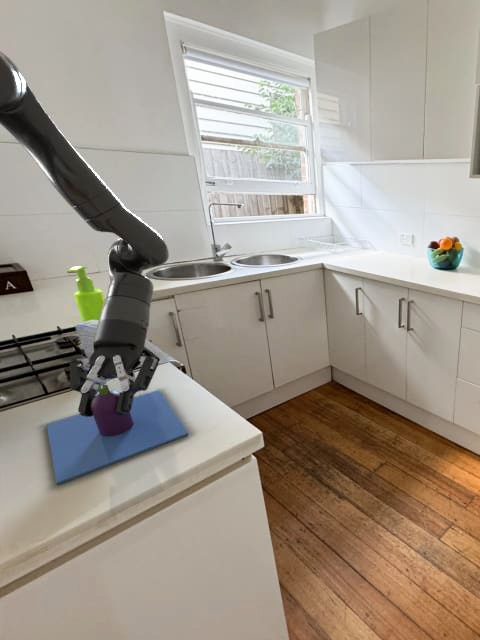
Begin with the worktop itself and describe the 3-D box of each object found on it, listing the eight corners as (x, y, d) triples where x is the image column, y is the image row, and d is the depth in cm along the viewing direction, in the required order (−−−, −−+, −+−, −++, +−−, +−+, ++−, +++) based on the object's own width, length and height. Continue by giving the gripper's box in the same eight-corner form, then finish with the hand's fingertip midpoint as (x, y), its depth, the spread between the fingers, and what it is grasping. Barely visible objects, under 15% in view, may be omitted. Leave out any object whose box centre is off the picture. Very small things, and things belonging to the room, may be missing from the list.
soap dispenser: (82, 343, 103) (56, 270, 95) (96, 333, 109) (73, 264, 101) (106, 342, 104) (83, 269, 96) (119, 332, 110) (98, 263, 102)
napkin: (47, 425, 70) (46, 423, 70) (159, 391, 82) (158, 390, 82) (57, 485, 57) (56, 483, 57) (188, 434, 69) (188, 432, 69)
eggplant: (93, 437, 67) (76, 395, 63) (110, 420, 71) (95, 380, 68) (124, 435, 67) (109, 393, 64) (139, 419, 72) (126, 379, 68)
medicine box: (127, 353, 98) (117, 322, 94) (111, 361, 94) (100, 328, 90) (102, 349, 100) (92, 318, 96) (85, 357, 96) (74, 324, 92)
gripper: (67, 318, 68) (40, 413, 62) (154, 316, 69) (136, 408, 63) (95, 334, 75) (73, 421, 68) (173, 332, 76) (159, 416, 70)
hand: (104, 414), depth 66 cm, fingers closed on eggplant, 5 cm apart
